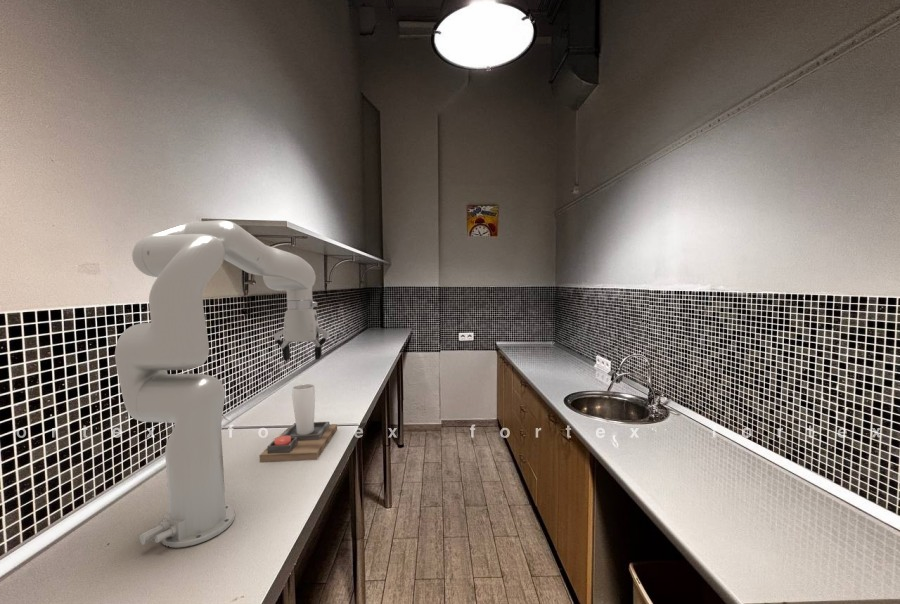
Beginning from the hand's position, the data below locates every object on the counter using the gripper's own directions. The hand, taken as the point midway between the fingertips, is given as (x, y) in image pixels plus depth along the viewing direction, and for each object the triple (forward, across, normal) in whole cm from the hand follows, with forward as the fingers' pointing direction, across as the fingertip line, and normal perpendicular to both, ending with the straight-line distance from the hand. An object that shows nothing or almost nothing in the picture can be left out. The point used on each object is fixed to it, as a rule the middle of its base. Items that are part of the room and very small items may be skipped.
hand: (302, 359), depth 120 cm
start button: (+24, +3, +11) cm, 26 cm away
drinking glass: (+24, 0, 0) cm, 24 cm away
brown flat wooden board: (+26, 0, +4) cm, 26 cm away
